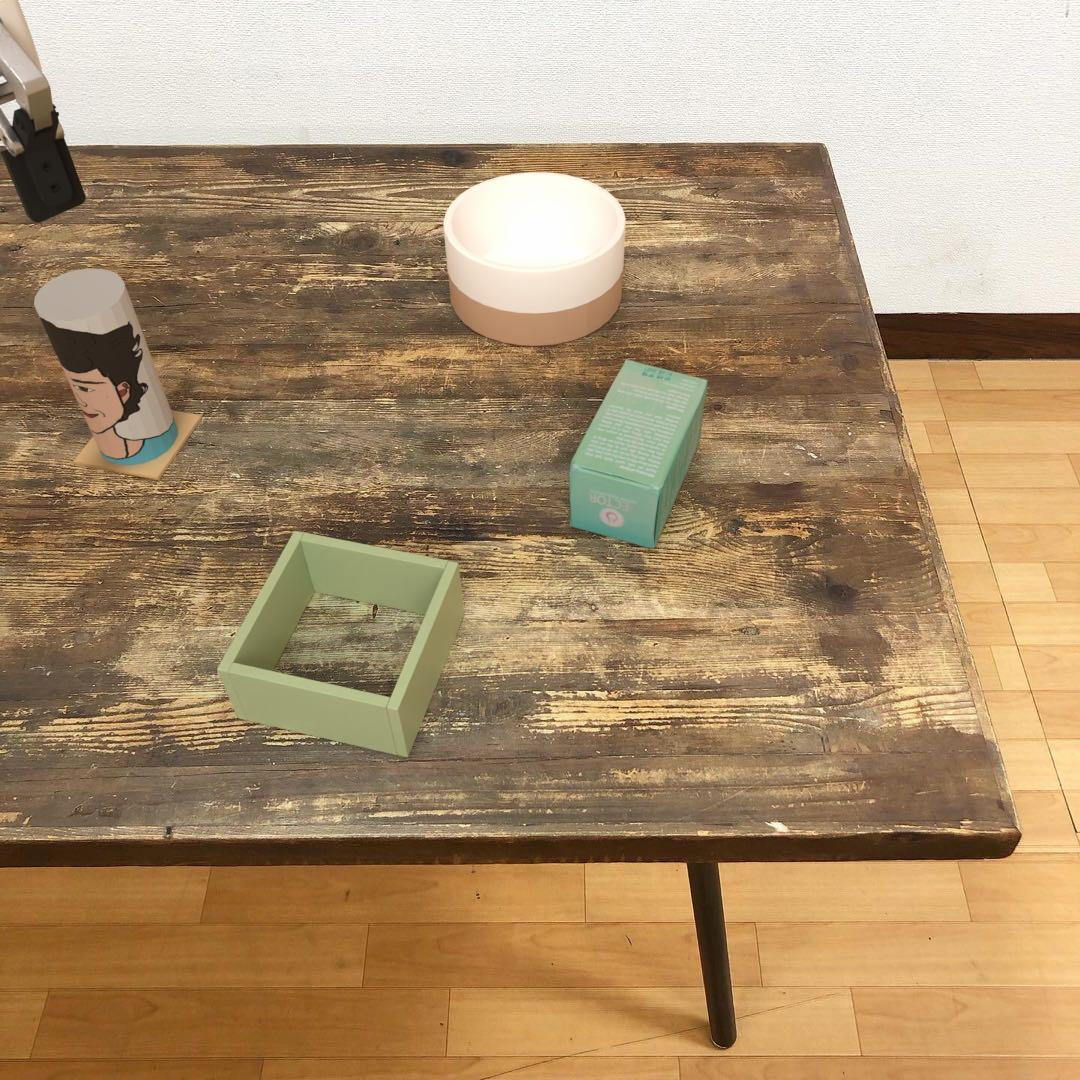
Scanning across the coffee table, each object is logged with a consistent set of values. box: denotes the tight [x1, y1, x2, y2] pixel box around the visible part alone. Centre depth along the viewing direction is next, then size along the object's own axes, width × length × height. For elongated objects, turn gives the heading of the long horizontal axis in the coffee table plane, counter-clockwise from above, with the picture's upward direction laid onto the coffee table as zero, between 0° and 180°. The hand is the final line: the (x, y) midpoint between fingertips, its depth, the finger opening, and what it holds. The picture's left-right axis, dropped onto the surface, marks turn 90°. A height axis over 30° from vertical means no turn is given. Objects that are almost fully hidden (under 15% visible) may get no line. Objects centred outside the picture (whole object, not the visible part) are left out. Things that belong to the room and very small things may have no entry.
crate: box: [216, 530, 465, 758], centre depth 75 cm, size 13×13×6 cm
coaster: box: [73, 409, 203, 481], centre depth 93 cm, size 8×8×1 cm
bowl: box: [442, 171, 627, 347], centre depth 103 cm, size 17×17×8 cm
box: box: [568, 359, 708, 549], centre depth 86 cm, size 7×14×8 cm, turn 159°
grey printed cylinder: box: [33, 268, 178, 465], centre depth 87 cm, size 7×7×15 cm
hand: (16, 178), depth 60 cm, fingers open, 9 cm apart
